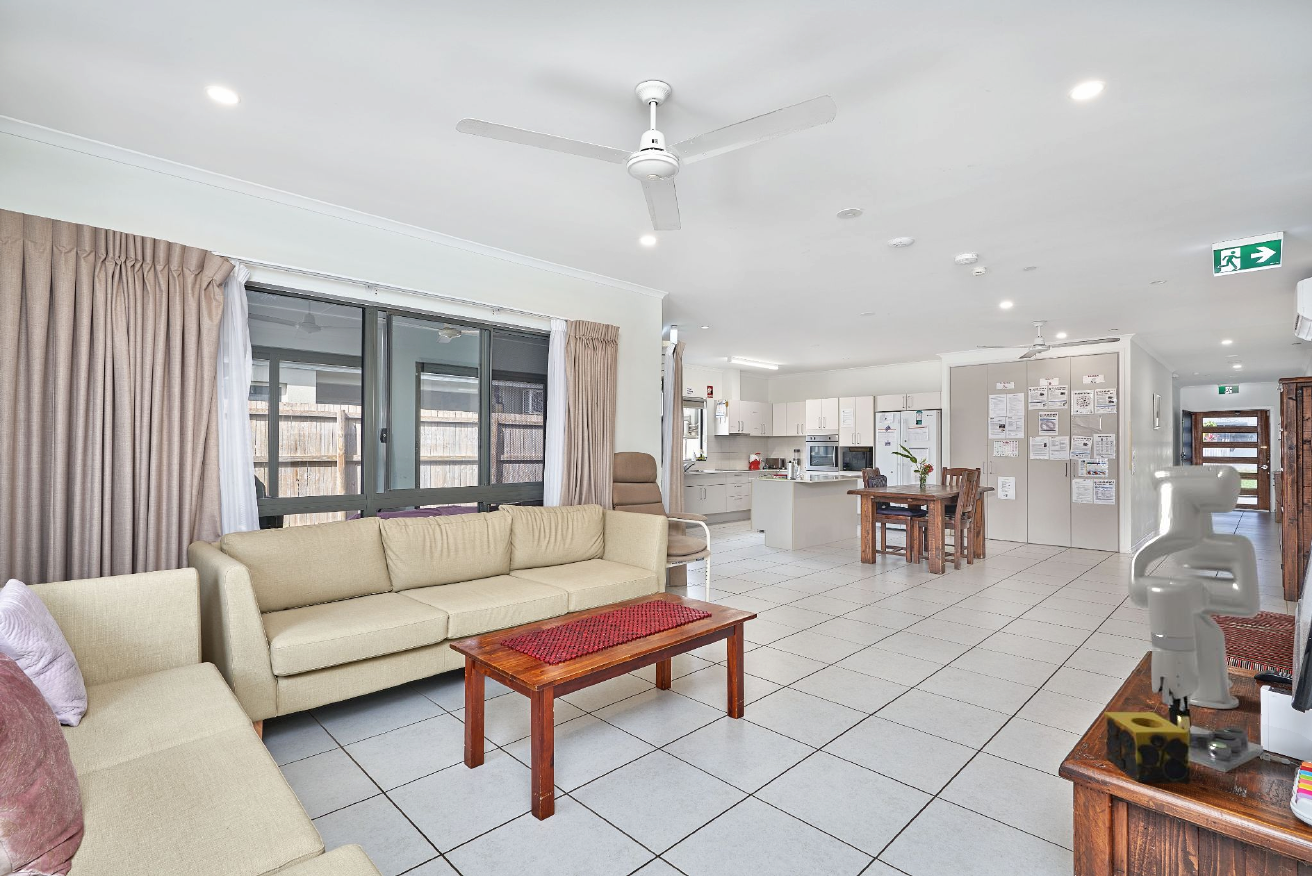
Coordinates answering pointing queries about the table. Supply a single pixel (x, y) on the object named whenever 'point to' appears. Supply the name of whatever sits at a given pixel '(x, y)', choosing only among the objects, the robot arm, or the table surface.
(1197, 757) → the plate
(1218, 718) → the table surface
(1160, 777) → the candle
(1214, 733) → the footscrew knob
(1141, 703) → the table surface
